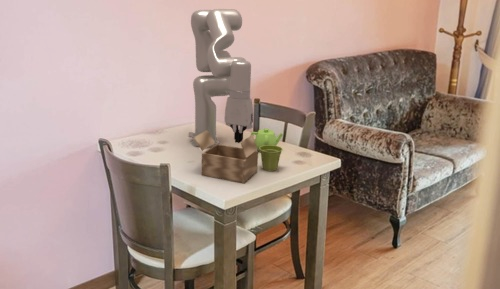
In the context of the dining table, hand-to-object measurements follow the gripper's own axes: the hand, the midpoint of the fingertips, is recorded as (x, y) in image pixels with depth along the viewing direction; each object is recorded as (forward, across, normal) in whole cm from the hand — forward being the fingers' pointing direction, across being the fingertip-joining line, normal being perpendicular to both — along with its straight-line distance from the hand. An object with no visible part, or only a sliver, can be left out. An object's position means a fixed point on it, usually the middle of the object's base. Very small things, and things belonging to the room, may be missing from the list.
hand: (238, 141), depth 187 cm
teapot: (+14, -2, +35) cm, 38 cm away
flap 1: (+1, -14, 0) cm, 14 cm away
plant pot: (+14, +9, +13) cm, 21 cm away
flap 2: (+1, +4, 0) cm, 4 cm away
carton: (+14, -3, 0) cm, 14 cm away
